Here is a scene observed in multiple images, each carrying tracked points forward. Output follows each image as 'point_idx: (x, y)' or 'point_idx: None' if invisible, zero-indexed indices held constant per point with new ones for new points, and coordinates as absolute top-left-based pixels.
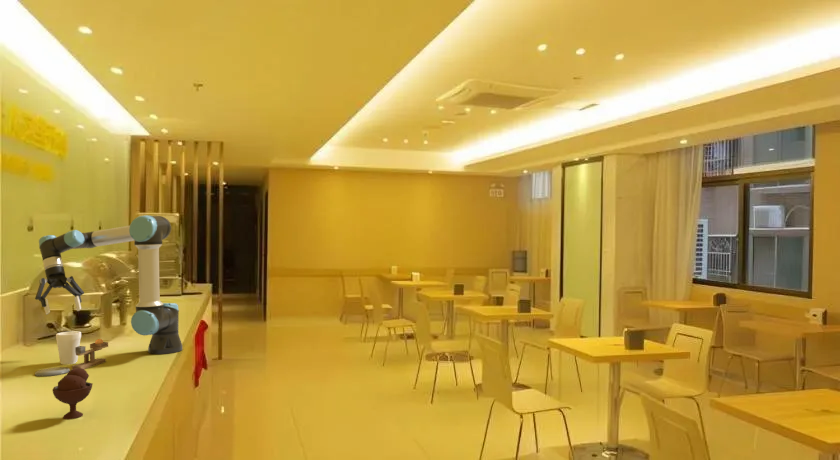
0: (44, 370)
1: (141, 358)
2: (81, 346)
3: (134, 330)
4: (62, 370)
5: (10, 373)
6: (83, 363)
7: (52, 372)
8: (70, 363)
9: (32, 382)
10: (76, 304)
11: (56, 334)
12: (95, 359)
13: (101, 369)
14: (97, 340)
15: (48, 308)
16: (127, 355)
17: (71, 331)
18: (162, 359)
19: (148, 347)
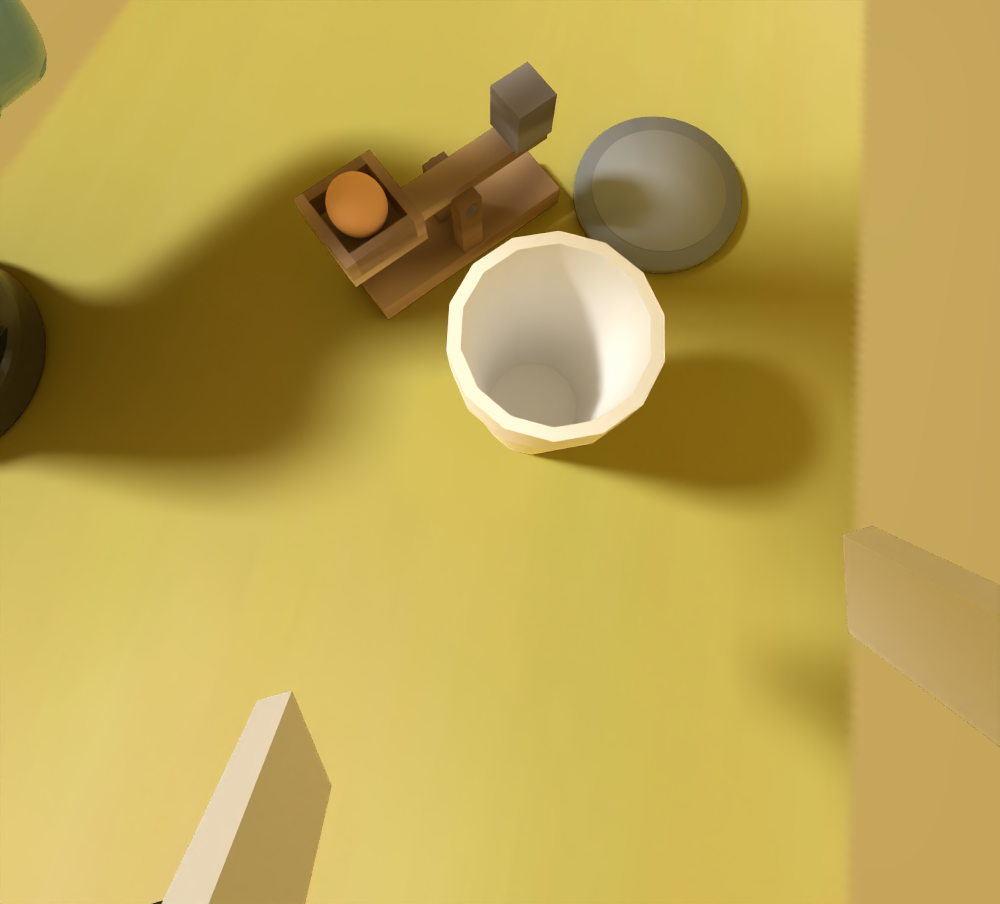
0: (694, 220)
1: (157, 236)
2: (515, 95)
3: (44, 54)
4: (615, 156)
5: (843, 334)
6: (492, 216)
7: (666, 144)
8: (531, 363)
9: (762, 58)
10: (283, 899)
11: (664, 336)
12: (404, 282)
13: (432, 109)
14: (368, 179)
15: (933, 568)
16: (179, 386)
17: (511, 424)
18: (82, 129)
19: (5, 372)
